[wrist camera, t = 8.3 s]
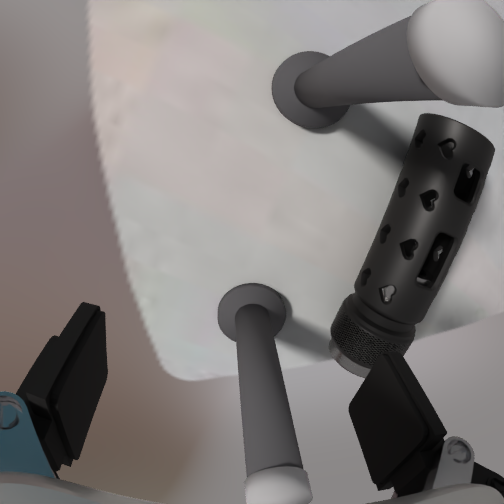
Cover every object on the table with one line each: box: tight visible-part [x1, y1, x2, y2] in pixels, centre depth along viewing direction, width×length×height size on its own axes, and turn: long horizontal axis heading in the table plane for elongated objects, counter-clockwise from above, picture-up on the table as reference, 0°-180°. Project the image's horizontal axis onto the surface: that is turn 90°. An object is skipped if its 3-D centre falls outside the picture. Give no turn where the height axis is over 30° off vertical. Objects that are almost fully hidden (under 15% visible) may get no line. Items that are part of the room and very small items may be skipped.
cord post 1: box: [218, 283, 313, 504], centre depth 27 cm, size 8×8×24 cm
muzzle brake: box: [329, 113, 495, 378], centre depth 31 cm, size 10×28×10 cm, turn 162°
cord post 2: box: [272, 0, 504, 128], centre depth 18 cm, size 8×8×24 cm
